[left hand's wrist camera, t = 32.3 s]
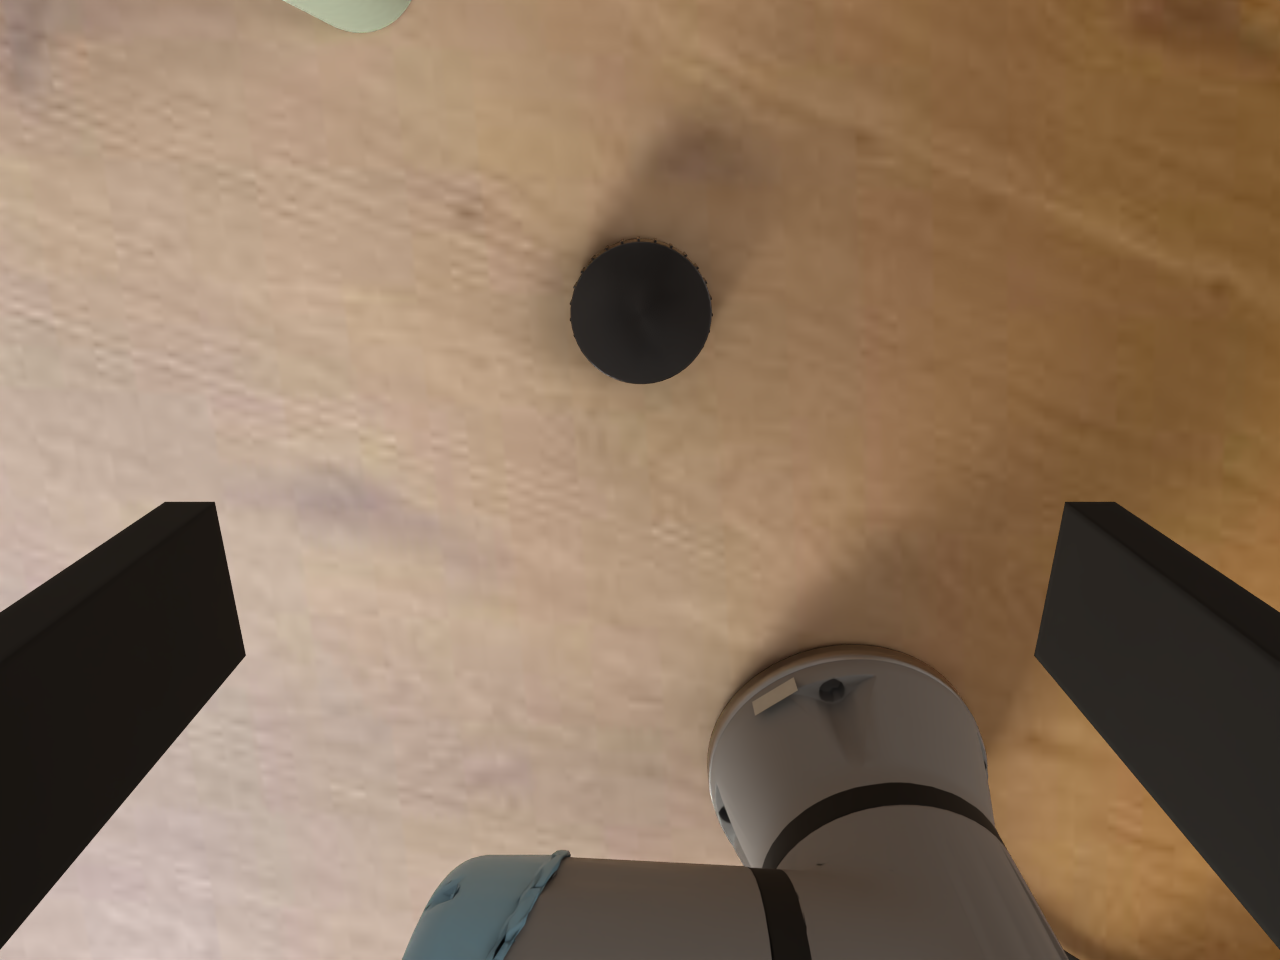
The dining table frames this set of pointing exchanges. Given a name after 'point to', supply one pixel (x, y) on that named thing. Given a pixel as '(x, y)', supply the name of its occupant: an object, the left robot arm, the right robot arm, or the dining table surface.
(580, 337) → the lid
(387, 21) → the jar
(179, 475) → the dining table surface
